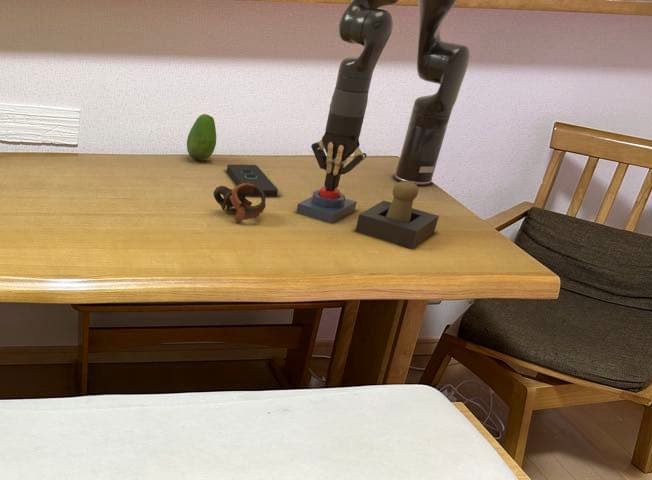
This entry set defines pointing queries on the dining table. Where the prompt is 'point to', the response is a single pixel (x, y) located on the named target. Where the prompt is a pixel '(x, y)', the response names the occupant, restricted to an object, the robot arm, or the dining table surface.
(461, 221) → the dining table surface
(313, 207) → the power block
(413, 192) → the cork
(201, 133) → the avocado
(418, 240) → the socket
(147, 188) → the dining table surface
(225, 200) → the brown looped knot
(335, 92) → the robot arm
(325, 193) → the power button
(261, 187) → the smart home device
